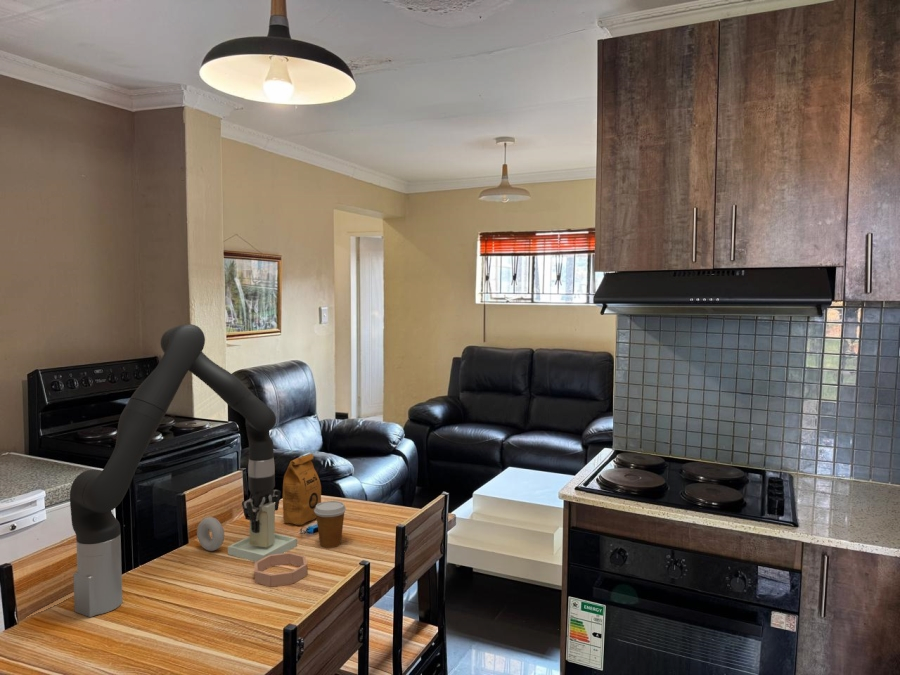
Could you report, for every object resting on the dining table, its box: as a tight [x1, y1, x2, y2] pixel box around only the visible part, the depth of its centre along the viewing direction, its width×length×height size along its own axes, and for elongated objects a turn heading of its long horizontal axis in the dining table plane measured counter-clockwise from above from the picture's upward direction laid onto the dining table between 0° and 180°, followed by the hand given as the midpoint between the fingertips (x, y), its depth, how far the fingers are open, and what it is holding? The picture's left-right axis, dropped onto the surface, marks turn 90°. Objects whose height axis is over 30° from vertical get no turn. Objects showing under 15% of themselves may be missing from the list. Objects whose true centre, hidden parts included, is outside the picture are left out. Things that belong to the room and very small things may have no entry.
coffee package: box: [282, 453, 322, 525], centre depth 204 cm, size 10×12×22 cm
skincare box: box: [249, 502, 276, 547], centre depth 179 cm, size 6×4×12 cm
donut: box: [196, 516, 225, 552], centre depth 179 cm, size 10×4×10 cm, turn 61°
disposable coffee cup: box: [314, 500, 347, 549], centre depth 184 cm, size 10×10×12 cm
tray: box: [227, 532, 298, 563], centre depth 179 cm, size 14×14×2 cm
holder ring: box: [253, 551, 308, 588], centre depth 163 cm, size 14×14×3 cm
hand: (262, 529), depth 179 cm, fingers closed on skincare box, 4 cm apart
